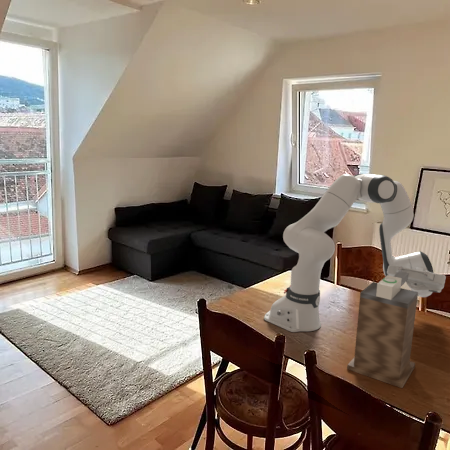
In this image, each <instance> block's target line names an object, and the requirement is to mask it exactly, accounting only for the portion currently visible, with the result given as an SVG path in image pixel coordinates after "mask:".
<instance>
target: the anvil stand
mask: <svg viewBox="0 0 450 450" xmlns="http://www.w3.org/2000/svg"><path fill="white" fill-rule="evenodd" d="M378 283H379V282H376V281H375V282H374V281H372V282H371V283H370V284H369V285H368V286H366V287H365V288H364V289H363V290H361V292H360V295H359V303H358V306H359V307H358V314H357V324H356V325H357V326H356V337H355V347H354V357H353V358H352V359H351V360H350V361H349V363H348V364H347V367H346V369H347V370H349V371H352V372H354V373H357V374H360V375H363V376H366V377H369V378H371V379H375V380H378V381H380V382H383V383H386V384H388V385H389V384H390V385H391V386H395V387H398V388H401V389H403V388H404V386H405V385H406V382H407V381H408V379H409V378H410V377H411V374H412V372H413V371H414V369H415V368H416V362H414V361H411V352H412V344H413V336H414V335H413V334H414V329H415V321H416V312H417V306H418V305H417V303H418V297H419V296H418V292H416V291H412V290H411V289H407V288H406V289H405V288H402V287H401V289H400V291H399V292H398V293H397V294H396V295H395V296H394V297H393V298H392V299H391V300H390V299H385V298H381V297H377V296H376V292H377V284H378Z"/></svg>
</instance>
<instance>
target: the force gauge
mask: <svg viewBox="0 0 450 450" xmlns="http://www.w3.org/2000/svg"><path fill="white" fill-rule="evenodd" d="M408 275H409V273H407V272H402V271H399V272H398V273H397V274H396V275H395V276H389V275H387V276H385V277H383V278H382V279H381V280H380V281H379V282H377V283H378V284H377V292H376V296H377V297H381V298H385V299H390V300H391V299H392V298H393V297H394V296H395V295H396V294H397V293H398V292H399V291H400V289H401V288H402V286H403V285H405V284H406V281H407V280H408Z"/></svg>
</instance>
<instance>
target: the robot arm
mask: <svg viewBox="0 0 450 450" xmlns="http://www.w3.org/2000/svg"><path fill="white" fill-rule="evenodd" d="M356 201H363V202H365V203H370V204H371V203H372V204H373V203H375V204H379V205H380V209H381V211H382V214H383V221H382V222H381V223H380V224H379V227H378V228H379V229H378V231H379V232H378V233H379V239H380V248H381V254H382V256H381V257H382V263H383V264H382V269H383V270H382V271H383V274H384V276H385V277H386V276H387V275H389V276H395V275H396V274H397V273H398V272H399V271H402V272H407V273H409V275H408V280H407V281H406V282H405V284H407V287H409V290H411V291H416V292H418V297H420V298H428V297H429V296H431V295H432V294H433V293H441V292H442V290H443V289H444V287H445V283H446V278H447V276H446V275H444V274H441V273H435V272H434V268H433V265H432V264H433V263H431V260H430V257H429V256H428V255H427V254H426V253H425V252H423V251H416V252H412V253H411V252H410V253H407V254H403V255H398V256H394V255H393V250H392V243H391V242H392V239H393V238H394V237H395V236H397V235H398V234H399V233H400V232H402V231H404V230H405V229H406V228H408V226H410V225H411V223H412V222H413V220H414V217H415V213H414V209H413V205H412V201H411V199H410V197H409V195H408V192H407V191H406V188H405V187H404V186H403V184H402V183H401V182H400V181H398V180H393V179H392V178H391V177H389V176H387V175H385V174H376V173H375V174H374V173H357V174H355V175H353V174H347V173H344V174H342V175H340V176H338V178H337V179H335V180H334V182H332V183H331V185H330V186H329V187H328V188H327V189H326V191H325V192H324V193H323V195H322V196H321V197H320V199H319V200H318V202H317V203H316V204H315V206H314V207H313V208H312V209H311V210H310V211H309V212H307V214H305V215H304V216H303V217H301V218H300V219H299V220H298V221H296V222H294V223H292V224H289V225H288V226H286V228H285V229H284V231H283V234H282V238H283V242H284V243H285V245H286V246H287V247H288V248H289V249H290V250H292V251H294V252H295V253H296V254H297V253H298V260H297V264H296V265H294V266H293V267H292V269H291V270H290V272H291V273H290V285H289V287H286V288H285V289H284V290H283V291H284V292H283V293H284V294H285V295H284V296H282V297H280V298H278V299H277V300H276V301H274V302H273V303H272V304H271V307H270V310H269V311H267V312H266V313H265V314H264V317H263V319H264V321H266V322H269V324H272V325H275V326H277V327H278V328H282V329H284V330H286V331H288V332H291V333H298V332H312V331H317V330H318V329H320V328H321V327H322V323H321V319H320V311H319V309H320V308H319V306H320V301H321V290H320V284H321V283H320V282H321V273H322V269H323V267H324V265H325V263H326V262H327V261H329V260H330V259H331V257H333V255H334V253H335V250H336V249H335V248H336V245H335V242H334V240H333V238H331V237H330V236H329V235H328V234H327V233H326V232H327V231H328V230H330V229H333V228H335V227H337V226H338V225H339V224H340V223H341V221H342V220H343V219H344V218H345V216H346V215H347V213H348V212H349V210H350V209H351V208H352V206H353V205H354V203H355V202H356Z"/></svg>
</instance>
